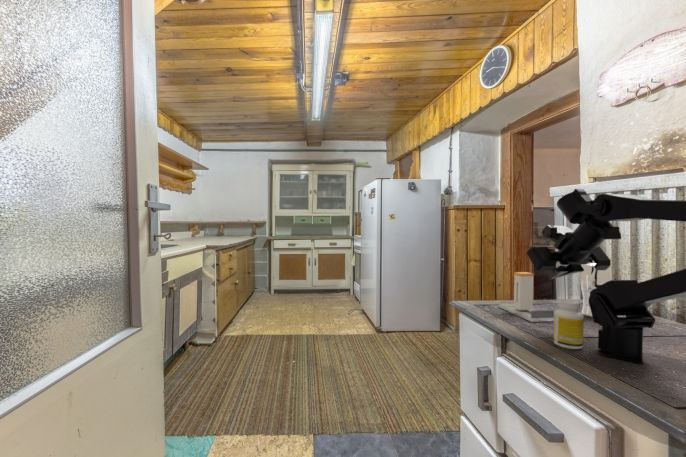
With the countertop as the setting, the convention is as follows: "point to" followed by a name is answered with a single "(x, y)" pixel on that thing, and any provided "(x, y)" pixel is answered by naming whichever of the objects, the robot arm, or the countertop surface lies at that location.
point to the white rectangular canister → (523, 290)
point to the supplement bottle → (568, 325)
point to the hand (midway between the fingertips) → (550, 277)
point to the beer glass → (591, 283)
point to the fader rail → (530, 313)
